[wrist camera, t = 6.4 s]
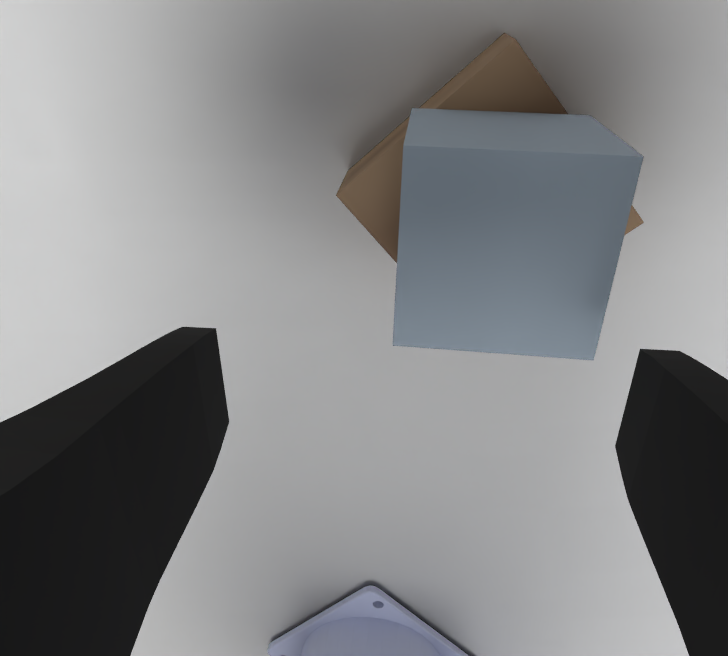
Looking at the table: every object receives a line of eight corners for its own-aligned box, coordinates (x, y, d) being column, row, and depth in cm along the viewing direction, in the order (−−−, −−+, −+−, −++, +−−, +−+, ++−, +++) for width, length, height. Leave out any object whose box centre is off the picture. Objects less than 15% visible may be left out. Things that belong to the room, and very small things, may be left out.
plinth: (614, 190, 19) (643, 222, 16) (461, 297, 21) (465, 340, 19) (502, 32, 17) (515, 39, 15) (348, 168, 19) (335, 195, 17)
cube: (589, 115, 15) (643, 156, 11) (558, 278, 17) (593, 360, 13) (411, 108, 16) (403, 145, 12) (402, 268, 18) (392, 345, 14)
